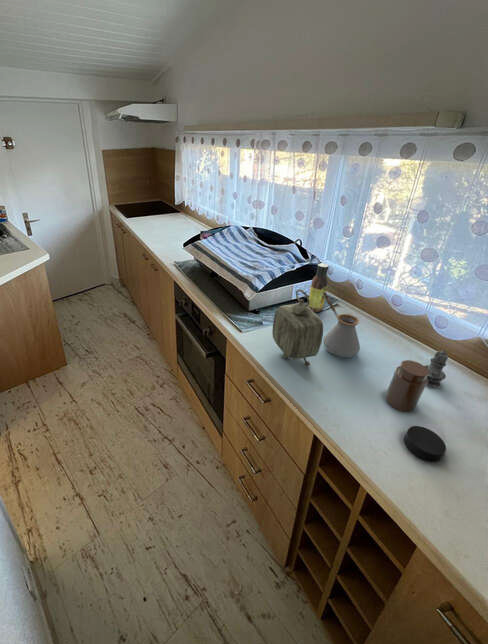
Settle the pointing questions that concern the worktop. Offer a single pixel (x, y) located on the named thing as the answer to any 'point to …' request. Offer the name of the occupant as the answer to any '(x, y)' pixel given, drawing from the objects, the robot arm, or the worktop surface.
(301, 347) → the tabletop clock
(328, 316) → the worktop surface
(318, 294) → the sauce bottle
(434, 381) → the grey stepped cylinder
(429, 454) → the jar lid
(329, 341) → the coffee pot
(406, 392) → the jar
